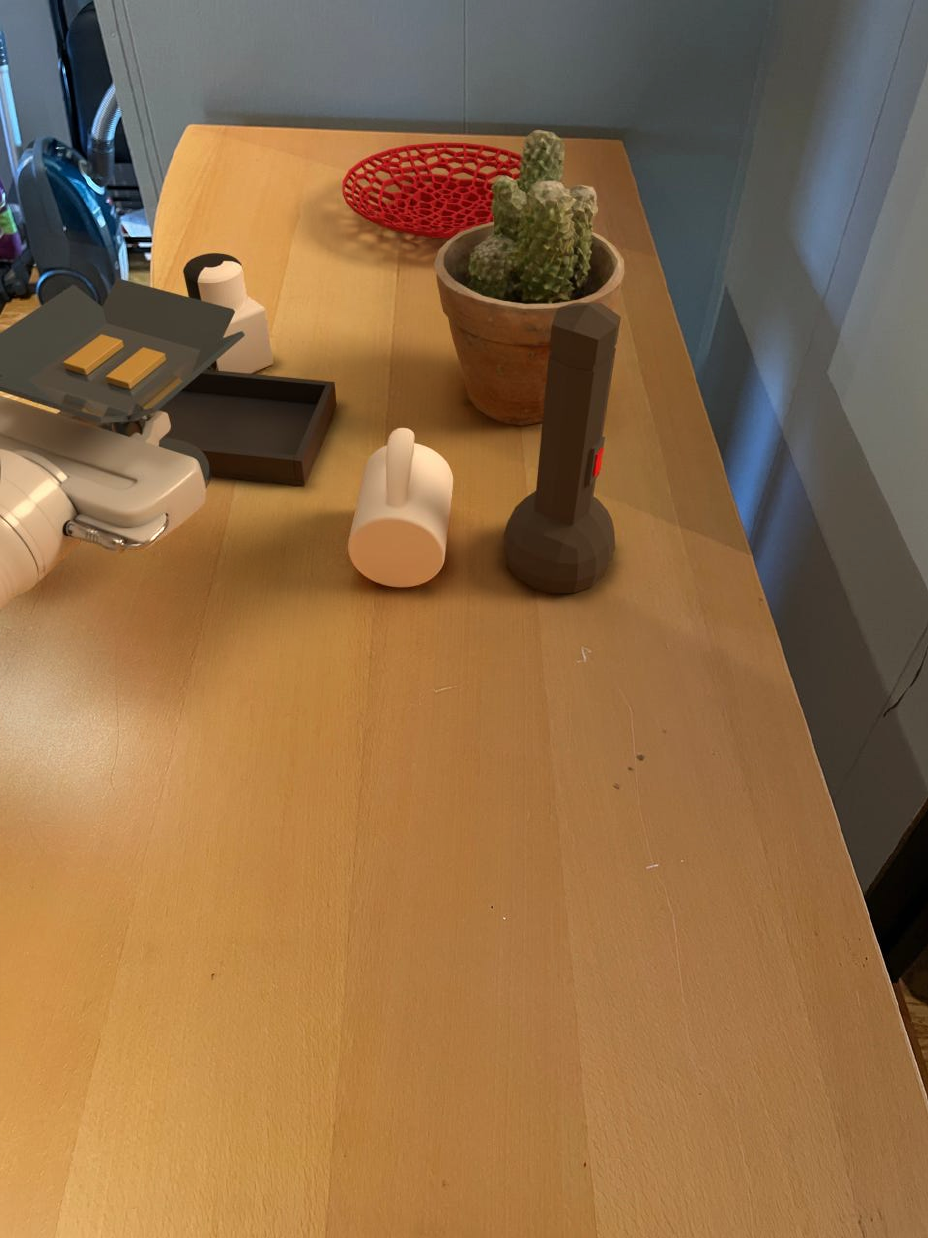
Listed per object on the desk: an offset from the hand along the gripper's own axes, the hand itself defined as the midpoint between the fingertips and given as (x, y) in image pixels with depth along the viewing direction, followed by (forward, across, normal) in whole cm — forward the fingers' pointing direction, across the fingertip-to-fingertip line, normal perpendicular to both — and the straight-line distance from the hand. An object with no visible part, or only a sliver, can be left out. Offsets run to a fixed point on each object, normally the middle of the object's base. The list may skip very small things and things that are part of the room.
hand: (137, 409), depth 74 cm
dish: (-1, 0, +6) cm, 7 cm away
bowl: (+72, +6, +15) cm, 74 cm away
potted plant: (+36, -19, +15) cm, 44 cm away
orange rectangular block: (-1, +2, -5) cm, 5 cm away
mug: (+9, -19, +15) cm, 26 cm away
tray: (+16, +6, +15) cm, 23 cm away
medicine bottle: (+28, +13, +15) cm, 34 cm away
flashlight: (+14, -32, +15) cm, 38 cm away
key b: (-1, -2, -5) cm, 5 cm away
